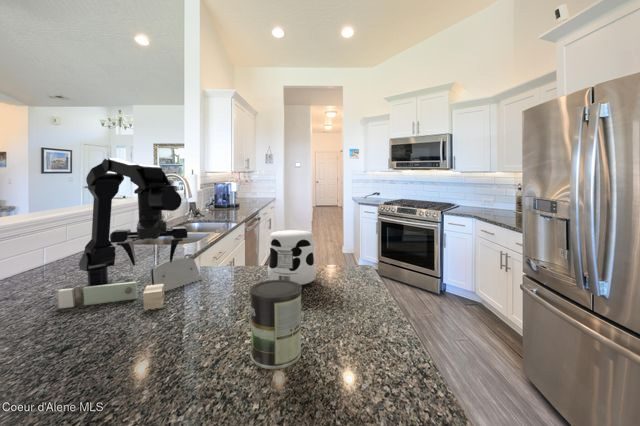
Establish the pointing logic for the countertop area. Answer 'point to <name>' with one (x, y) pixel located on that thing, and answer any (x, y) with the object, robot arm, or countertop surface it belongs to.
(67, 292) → the wall stub
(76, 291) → the gate post
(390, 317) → the countertop surface
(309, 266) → the milk container
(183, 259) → the grey curved upright block
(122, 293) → the door
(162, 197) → the robot arm
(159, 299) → the block
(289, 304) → the coffee can
